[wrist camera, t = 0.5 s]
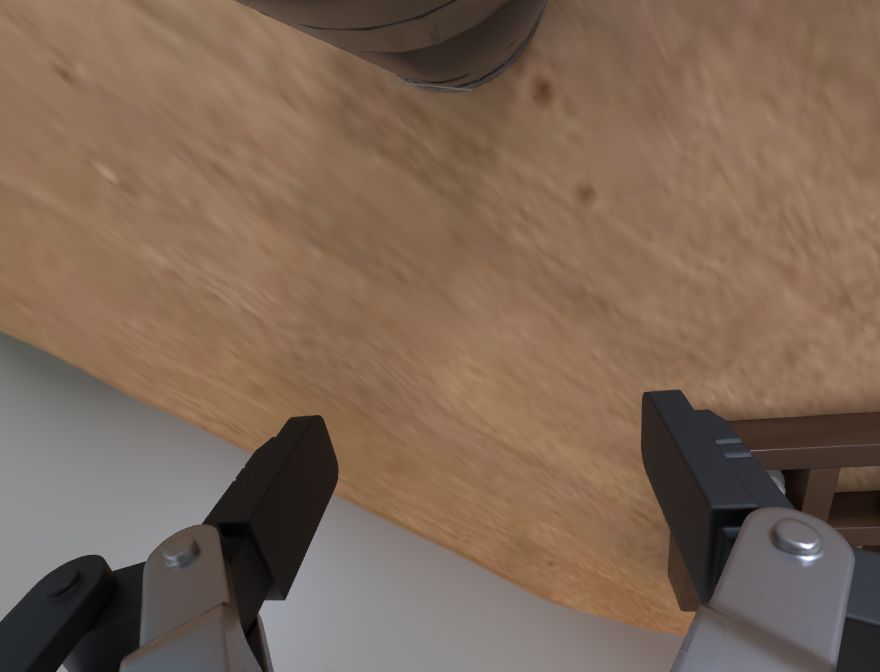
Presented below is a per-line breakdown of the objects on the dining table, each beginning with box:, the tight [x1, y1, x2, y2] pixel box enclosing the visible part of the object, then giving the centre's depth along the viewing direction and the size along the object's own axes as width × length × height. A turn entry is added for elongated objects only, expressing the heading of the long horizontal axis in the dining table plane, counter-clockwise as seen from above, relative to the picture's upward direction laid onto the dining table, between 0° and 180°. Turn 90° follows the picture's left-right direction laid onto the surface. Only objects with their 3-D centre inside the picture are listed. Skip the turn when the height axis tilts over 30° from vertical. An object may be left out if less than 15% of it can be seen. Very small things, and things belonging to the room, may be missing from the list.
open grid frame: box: [668, 412, 880, 611], centre depth 30 cm, size 15×21×3 cm
